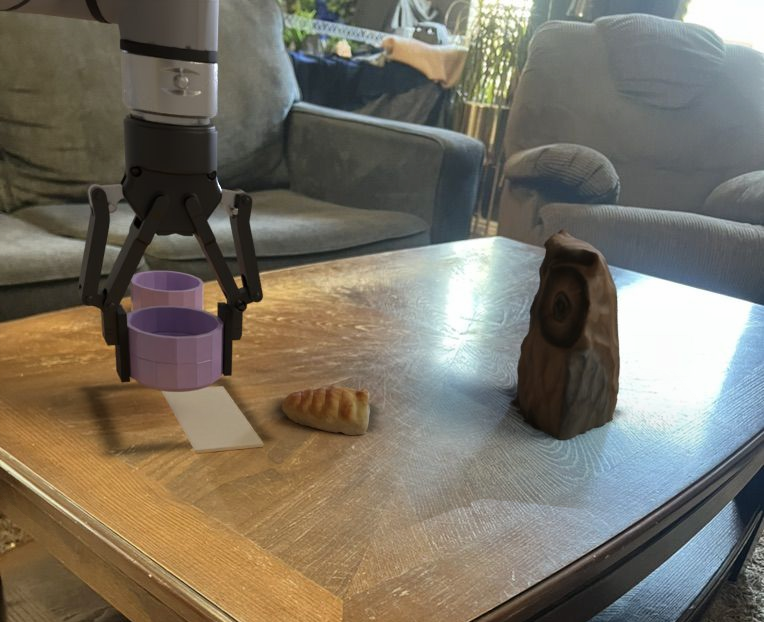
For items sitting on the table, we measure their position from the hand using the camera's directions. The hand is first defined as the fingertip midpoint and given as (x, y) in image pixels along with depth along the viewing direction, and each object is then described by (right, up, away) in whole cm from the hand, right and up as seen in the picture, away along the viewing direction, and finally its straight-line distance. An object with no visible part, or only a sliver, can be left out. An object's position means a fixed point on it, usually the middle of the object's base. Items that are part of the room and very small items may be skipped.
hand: (174, 373), depth 75 cm
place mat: (-1, -4, +3) cm, 5 cm away
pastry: (+15, -4, +8) cm, 17 cm away
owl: (+41, -2, +17) cm, 45 cm away
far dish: (-8, +11, +27) cm, 30 cm away
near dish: (0, 0, 0) cm, 0 cm away
